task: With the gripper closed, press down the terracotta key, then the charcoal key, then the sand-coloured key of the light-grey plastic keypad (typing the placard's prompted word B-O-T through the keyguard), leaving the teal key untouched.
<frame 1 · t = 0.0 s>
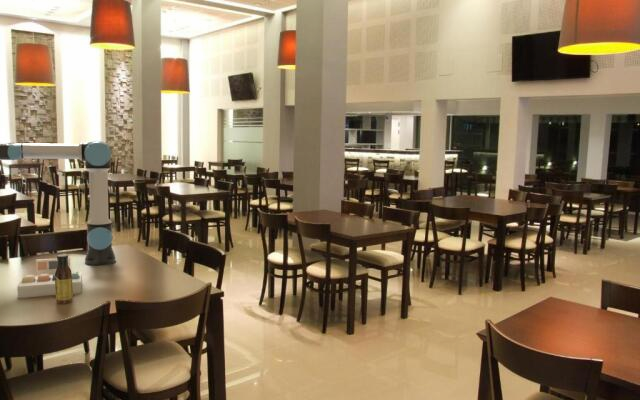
key R: (73, 277, 232), point 5 cm above the table, slide at 0.0 cm
sauce bottle: (64, 302, 214), on the table
keypad: (51, 290, 229), on the table
key O: (58, 278, 230), point 5 cm above the table, slide at 0.0 cm
key B: (43, 279, 227), point 5 cm above the table, slide at 0.0 cm
key T: (28, 280, 225), point 5 cm above the table, slide at 0.0 cm
prompt placard: (53, 282, 241), on the table
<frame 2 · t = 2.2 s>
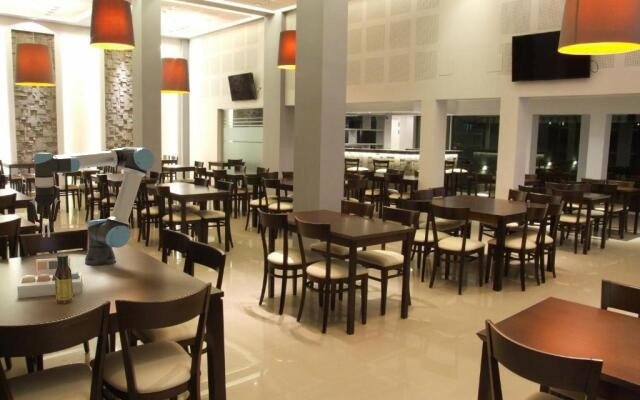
hand: (46, 236, 243), 20 cm above the table, fingers closed
nothing on the table moved.
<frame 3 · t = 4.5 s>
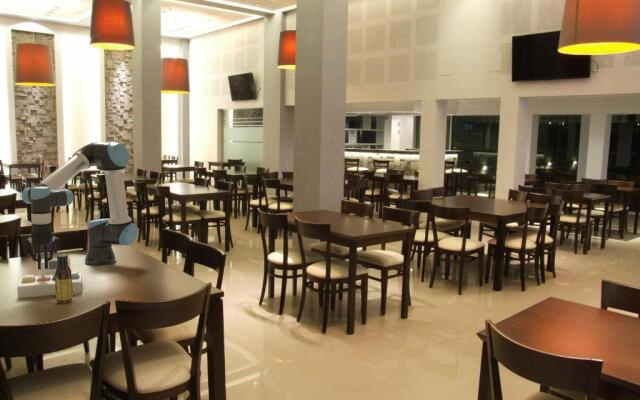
hand: (43, 276, 227), 7 cm above the table, fingers closed
key B: (43, 281, 227), point 4 cm above the table, slide at 0.9 cm, touching gripper
everything else where it was.
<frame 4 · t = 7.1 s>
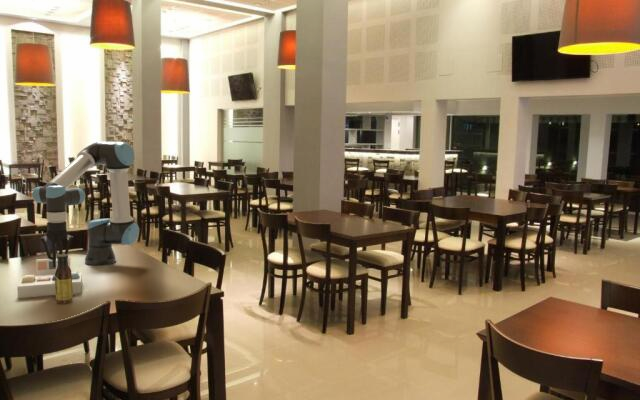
hand: (58, 274, 229), 7 cm above the table, fingers closed
key O: (58, 279, 230), point 5 cm above the table, slide at 0.4 cm, touching gripper
key B: (43, 282, 227), point 4 cm above the table, slide at 1.5 cm
everything else where it was.
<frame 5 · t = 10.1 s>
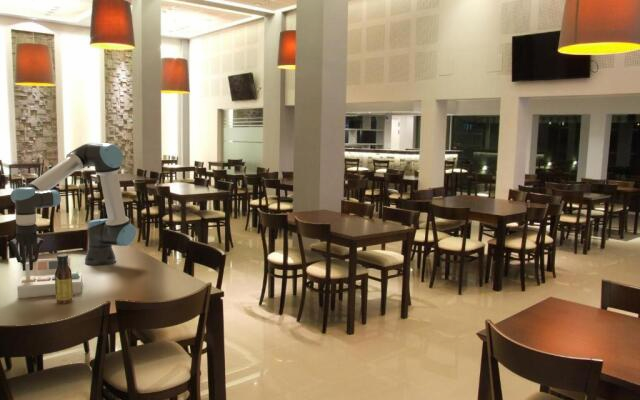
hand: (28, 277, 225), 6 cm above the table, fingers closed
key O: (58, 281, 230), point 4 cm above the table, slide at 1.5 cm
key T: (28, 282, 225), point 4 cm above the table, slide at 1.1 cm, touching gripper
everything else where it was.
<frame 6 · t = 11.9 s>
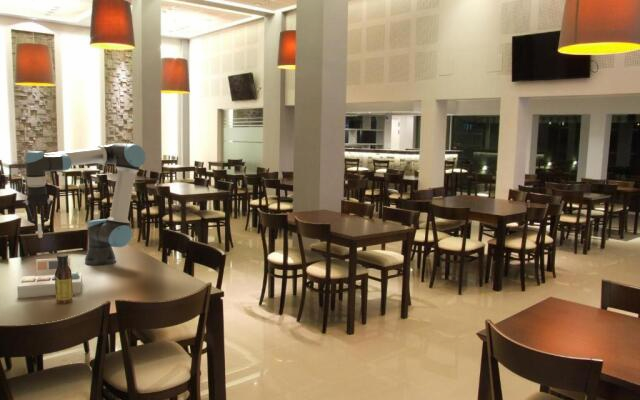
hand: (40, 237, 238), 21 cm above the table, fingers closed
key T: (28, 283, 225), point 4 cm above the table, slide at 1.5 cm
everything else where it was.
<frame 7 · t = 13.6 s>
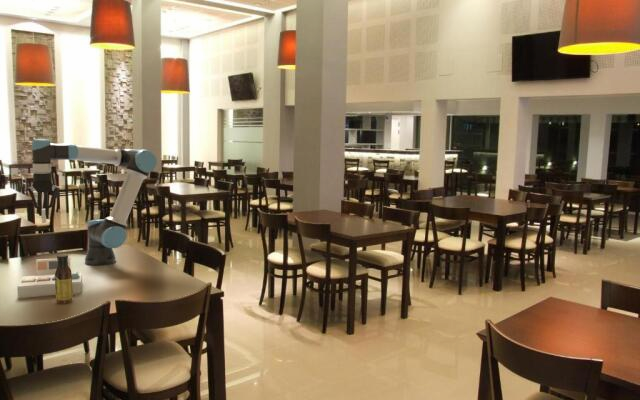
hand: (44, 222, 245), 26 cm above the table, fingers closed
nothing on the table moved.
at the end: key B slide at 1.5 cm; key O slide at 1.5 cm; key T slide at 1.5 cm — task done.
